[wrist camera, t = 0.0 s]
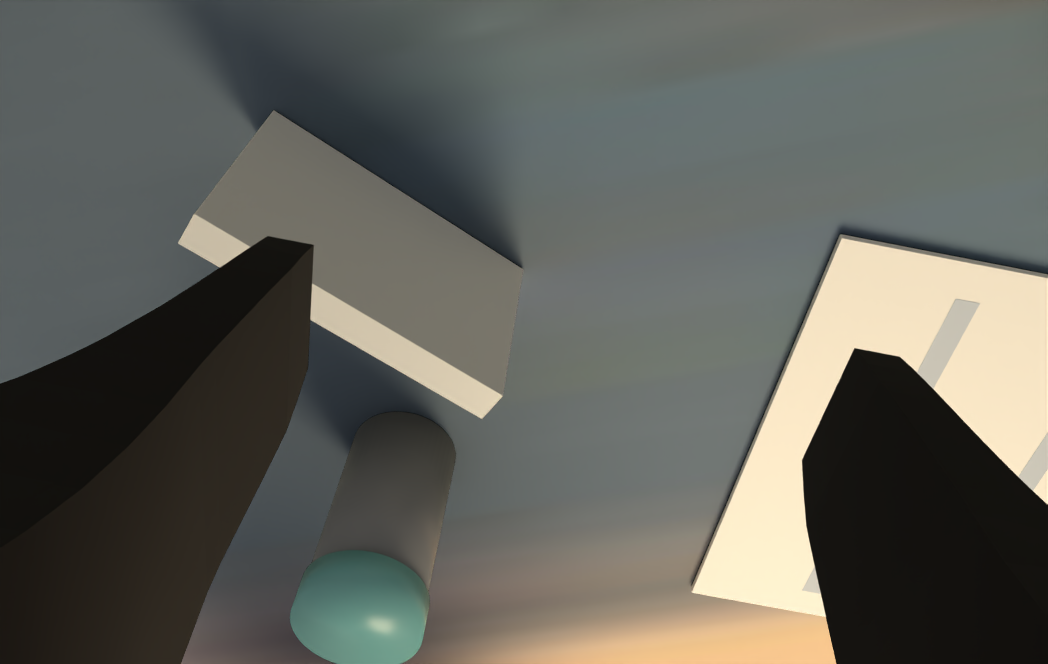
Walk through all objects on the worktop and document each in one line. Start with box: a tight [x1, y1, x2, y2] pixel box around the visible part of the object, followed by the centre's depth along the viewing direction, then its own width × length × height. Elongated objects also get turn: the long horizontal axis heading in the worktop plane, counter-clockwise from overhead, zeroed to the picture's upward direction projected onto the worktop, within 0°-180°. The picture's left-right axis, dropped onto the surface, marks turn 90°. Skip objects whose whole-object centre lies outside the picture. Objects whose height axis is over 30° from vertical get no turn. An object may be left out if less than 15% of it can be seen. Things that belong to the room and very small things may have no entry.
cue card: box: [178, 110, 523, 419], centre depth 21 cm, size 1×7×5 cm, turn 55°
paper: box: [691, 234, 1048, 617], centre depth 26 cm, size 13×11×1 cm
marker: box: [290, 412, 456, 664], centre depth 25 cm, size 3×3×6 cm
